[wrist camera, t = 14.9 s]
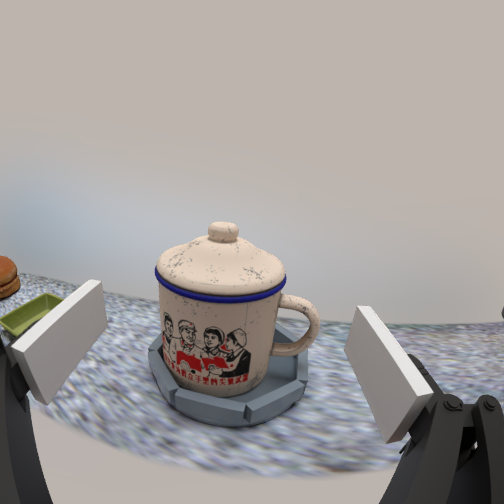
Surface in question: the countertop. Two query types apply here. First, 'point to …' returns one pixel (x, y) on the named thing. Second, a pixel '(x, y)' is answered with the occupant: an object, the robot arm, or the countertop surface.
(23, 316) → the green shallow square dish
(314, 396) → the countertop surface
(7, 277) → the burger
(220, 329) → the teacup with lid
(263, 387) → the ashtray
